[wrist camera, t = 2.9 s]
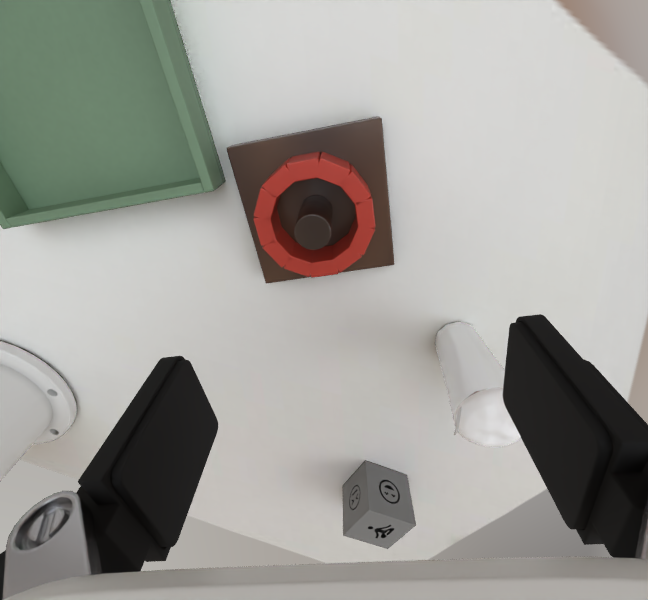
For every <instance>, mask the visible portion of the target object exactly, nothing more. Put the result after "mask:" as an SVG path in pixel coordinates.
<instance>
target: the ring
mask: <svg viewBox="0 0 648 600" xmlns="http://www.w3.org/2000/svg"><path fill="white" fill-rule="evenodd" d="M314 178H319V179H322V180H325V181H327V182H330V183H333V184H335V185H338V186H340V187H341V188H342V189H343V190H344V192H345V193H346V194H347V195H348V197H349V198H350V199H351V200H352V202H353V203H354V204H355V211H356V216H355V219H354V221H353V224H352V226H351V228H350V231H349V233H348V234H347V235H346V236H345V237H343V238H342V239H341V240H339V241H338V242H337V243H335V244H334V245H331V246H325V247H322V248H320V249H316V250H311V249H307V248H304V247H302V246H301V245H300V244H299V243H297V242H295V241H294V240H293V239H292V238H291V237H290V235H289V234H288V233H287V232H286V231H285V230H284V229H283V228H282V226H281V222H280V218H279V214H278V210H277V206H278V202H279V199H280V195H281V194H282V193H283V192H284V191H285V190H286V189H287V188H288V187H289V186H290V185H292V184H293V183H294V182H297V181H302V180H308V179H314ZM254 216H255V217H254V223H255V226H256V230H257V233H258V237H259V240H260V244H261V245H263V247H262V248H263V249H264V250H265V251H266V252H267V253H268V254H269V255H270V256H271V257H272V258H273V259H274V260H275V261H276V262H277V263H278V264H279V265H280V266H281V267H283V266H284V269H287V270H290V271H293V272H295V273H298V274H301V275H304V276H307V277H309V276H310V275H311V277H312V278H313V277H320V276H327V275H333V274H338V271H339V272H342V271H343V270H345V269H346V268H347V267H349V266H350V265H352V264H353V263H354V262H356V261H357V260H358V259H360V258H361V257H362V255H364V253H365V251H366V249H367V247H368V245H369V242H370V240H371V238H372V236H373V234H374V231H375V228H374V227H375V217H374V208H373V199H372V196H371V193H370V190H369V188H368V185H367V184H366V182H365V181H364V180H363V178H362V177H361V176H360V174H359V173H358V172H357V171H356V169H355V168H354V167H353V165H352V164H350V165H349V162H348V161H345V160H343V159H340V158H338V157H335V156H333V155H330V154H327V153H325V152H322V153H321V154H320V152H313V153H308V154H303V155H298V156H293V157H291V159H290V158H288V159H287V160H286V161H285V162H284V163H283V164H282V165H281V166H280V167H279V168H278V169H277V170H276V171H275V172H274V173H272V174H271V175H270V176H269V177H268V179H267V180H266V181H265V182H264V184H263V185H262V187H261V189H260V192H259V196H258V200H257V203H256V207H255V211H254Z"/></svg>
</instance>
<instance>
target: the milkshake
mask: <svg viewBox="0 0 648 600" xmlns="http://www.w3.org/2000/svg"><path fill="white" fill-rule="evenodd" d="M435 346H436V350H437V354H438V358H439V362H440V366H441V369H442V373H443V377H444V381H445V385H446V388H447V393H448V397H449V402H450V406H451V411H452V415H453V420H454V425H455V432H454V435H455V434H456V433H457V432H458V433H459V434H460V435H461V436H462V437H463V438H465V439H466V440H468V441H470V442H473V443H475V444H478V445H482V446H487V447H502V446H506V445H510V444H513V443H515V442H517V441H518V440H519V439H520V438H521V436H520V434H519V432H518V430H517V428H516V426H515V425H514V423H513V421H512V419H511V417H510V415H509V413H508V411H507V409H506V407H505V405H504V401H503V385H504V375H505V369H504V368H503V367H502V365H501V364H500V363H499V362H498V360H497V359H496V357H495V356H494V355H493V353H492V352H491V351H490V349H489V348H488V347H487V345H486V344H485V342H484V341H483V340H482V338H481V337H480V336H479V334H478V333H477V331H476V330H475V329H474V327H473V326H472V325H470V324H467V323H464V322H461V321H458V322H454V323H450V324H446V325H445V326H444V327H443V328H442V329H441V330H439V331H438V332H437V335H436V340H435Z"/></svg>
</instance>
